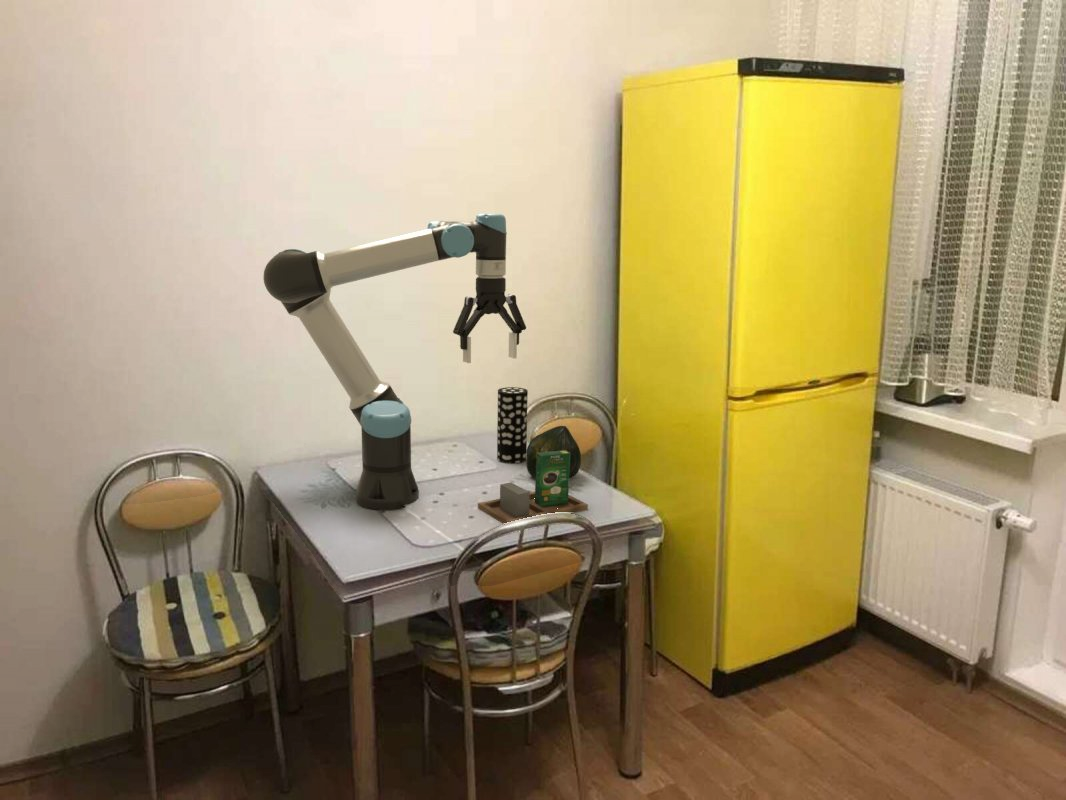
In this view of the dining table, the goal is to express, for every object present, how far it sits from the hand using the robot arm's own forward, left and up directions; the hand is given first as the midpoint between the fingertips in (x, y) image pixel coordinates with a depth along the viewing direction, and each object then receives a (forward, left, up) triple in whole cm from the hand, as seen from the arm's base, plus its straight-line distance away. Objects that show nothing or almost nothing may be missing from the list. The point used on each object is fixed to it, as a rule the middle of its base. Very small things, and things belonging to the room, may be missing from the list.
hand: (490, 360), depth 220 cm
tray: (-4, -27, -32) cm, 42 cm away
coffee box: (+1, -27, -31) cm, 41 cm away
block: (-9, -27, -31) cm, 42 cm away
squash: (+15, -8, -32) cm, 36 cm away
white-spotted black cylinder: (+14, +11, -32) cm, 37 cm away
